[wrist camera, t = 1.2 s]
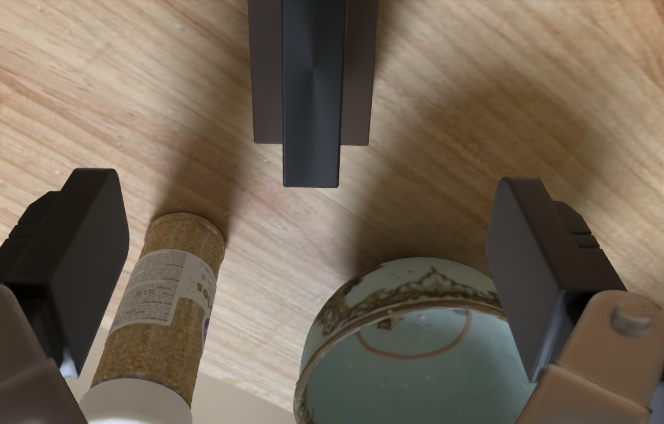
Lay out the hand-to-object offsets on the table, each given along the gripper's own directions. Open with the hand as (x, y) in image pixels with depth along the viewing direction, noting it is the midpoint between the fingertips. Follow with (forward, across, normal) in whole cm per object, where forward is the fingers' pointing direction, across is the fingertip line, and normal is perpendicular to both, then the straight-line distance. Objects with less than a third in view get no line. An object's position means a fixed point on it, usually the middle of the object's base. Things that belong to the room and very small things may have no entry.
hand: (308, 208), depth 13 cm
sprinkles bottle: (+17, +7, +14) cm, 23 cm away
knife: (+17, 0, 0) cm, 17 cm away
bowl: (+17, -6, +18) cm, 25 cm away
